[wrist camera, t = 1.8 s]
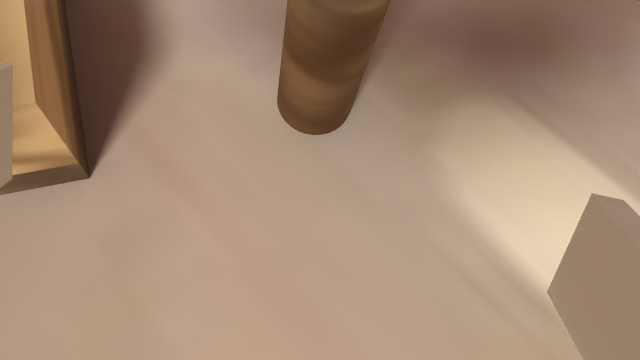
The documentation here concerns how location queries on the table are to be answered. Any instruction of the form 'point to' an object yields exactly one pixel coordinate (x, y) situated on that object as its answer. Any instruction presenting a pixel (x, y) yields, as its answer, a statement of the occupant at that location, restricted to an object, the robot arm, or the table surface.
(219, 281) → the table surface
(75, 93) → the socket block
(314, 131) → the pin
